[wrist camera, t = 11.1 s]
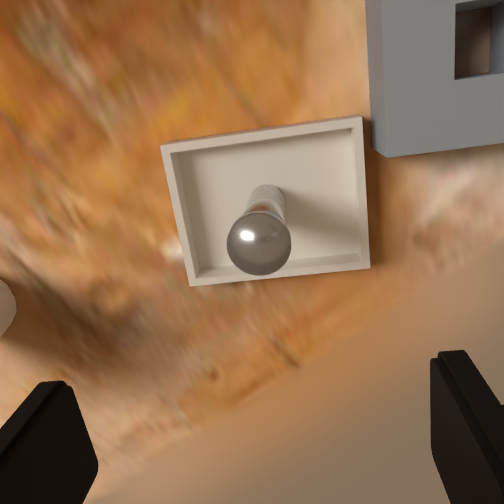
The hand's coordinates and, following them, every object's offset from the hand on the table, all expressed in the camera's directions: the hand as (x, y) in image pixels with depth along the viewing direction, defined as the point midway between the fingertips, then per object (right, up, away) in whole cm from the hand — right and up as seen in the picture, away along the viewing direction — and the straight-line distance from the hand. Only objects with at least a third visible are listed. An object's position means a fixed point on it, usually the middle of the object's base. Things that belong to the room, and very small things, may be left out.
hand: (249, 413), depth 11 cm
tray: (+1, +8, +23) cm, 24 cm away
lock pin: (+1, +8, +22) cm, 24 cm away
